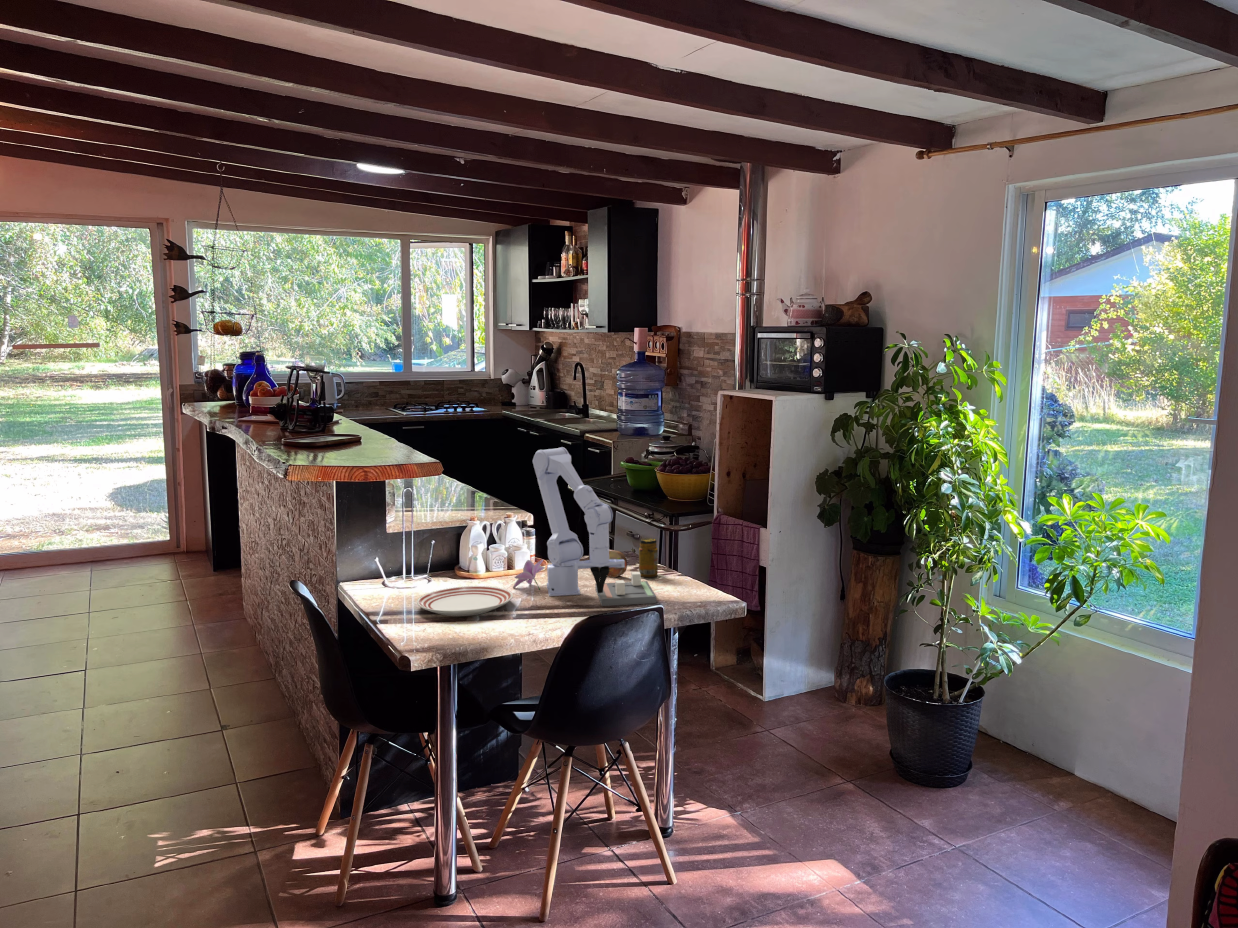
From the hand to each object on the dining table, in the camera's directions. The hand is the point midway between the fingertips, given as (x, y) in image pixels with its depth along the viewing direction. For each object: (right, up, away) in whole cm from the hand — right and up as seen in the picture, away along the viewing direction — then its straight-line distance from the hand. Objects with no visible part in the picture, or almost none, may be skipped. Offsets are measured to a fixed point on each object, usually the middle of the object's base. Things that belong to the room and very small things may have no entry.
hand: (600, 591), depth 270 cm
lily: (-22, -1, +17) cm, 28 cm away
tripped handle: (+6, 0, +1) cm, 6 cm away
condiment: (+15, +1, +28) cm, 32 cm away
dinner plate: (-39, -4, -2) cm, 39 cm away
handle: (+11, +1, +10) cm, 15 cm away
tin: (+2, +1, +32) cm, 32 cm away
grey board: (+7, -2, +6) cm, 10 cm away
